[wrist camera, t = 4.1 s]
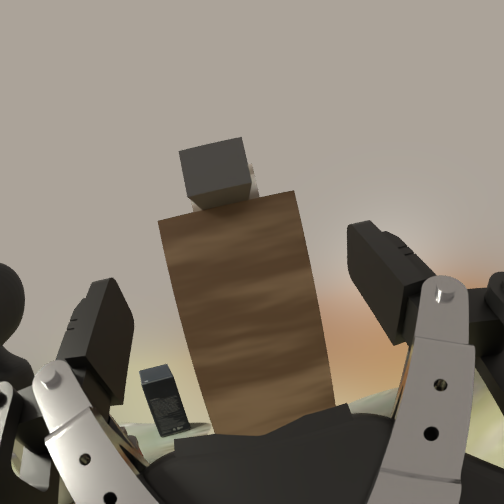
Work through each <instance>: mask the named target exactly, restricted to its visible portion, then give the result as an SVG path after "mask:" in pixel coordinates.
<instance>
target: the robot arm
mask: <svg viewBox="0 0 504 504" xmlns="http://www.w3.org/2000/svg"><path fill="white" fill-rule="evenodd" d="M347 264H348V271H349V274H350V277H351V279H352V281H353V283H354V284H355V286H356V287H357V289H358V290H359V292H360V293H361V295H362V296H363V298H364V300H365V301H366V303H367V304H368V306H369V307H370V309H371V310H372V312H373V313H374V315H375V317H376V318H377V320H378V321H379V323H380V325H381V326H382V328H383V330H384V331H385V333H386V334H387V336H388V338H389V339H390V341H391V342H392V344H393V345H394V346H395V345H398V344H400V343H403V342H406V343H407V345H408V346H409V348H408V352H407V356H406V361H405V365H404V369H403V373H402V378H401V382H400V385H399V389H398V393H397V397H396V400H395V404H394V407H393V410H392V413H391V416H390V418H389V417H385V416H381V415H376V414H367V413H355V414H351V412H350V409H349V407H348V404H347V403H345V404H342V405H339V406H335V407H332V408H329V409H325V410H322V411H318V412H315V413H311V414H307V415H304V416H302V417H300V418H298V419H296V420H294V421H292V422H290V423H288V424H286V425H284V426H282V427H280V428H278V429H276V430H274V431H272V432H270V433H267V434H265V435H261V436H247V435H225V434H211V435H204V436H197V437H189V438H181V439H174V450H175V451H173V452H171V453H168V454H166V455H164V456H162V457H160V458H159V459H157V460H155V461H154V462H153V463H151V464H149V463H148V462H147V461H146V460H145V459H144V457H143V456H142V455H141V454H140V453H139V452H138V450H137V449H136V448H135V447H134V445H133V444H132V443H131V441H130V440H129V439H128V437H127V436H126V435H125V434H124V432H123V431H122V429H121V428H120V427H119V425H118V424H117V423H116V421H115V420H114V418H113V417H112V416H111V415H110V414H109V411H110V406H114V405H123V401H124V393H125V385H126V377H127V371H128V364H129V357H130V351H131V345H132V339H133V333H134V319H133V316H132V313H131V310H130V308H129V307H128V304H127V302H126V301H125V298H124V296H123V294H122V292H121V290H120V288H119V286H118V284H117V282H116V280H115V279H113V278H108V279H104V280H99V281H95V282H92V284H91V286H90V288H89V291H88V293H87V296H86V298H84V299H82V300H81V302H80V303H79V304H78V305H77V307H76V308H75V309H74V311H73V314H72V316H71V319H70V322H69V324H68V327H67V331H66V332H65V335H64V338H63V340H62V343H61V346H60V349H59V351H58V354H57V358H56V360H55V361H51V362H49V363H47V364H46V365H44V366H43V367H42V368H41V369H40V370H39V371H38V372H37V373H36V375H35V376H34V373H33V370H32V368H31V365H30V364H29V363H28V362H27V360H25V359H23V358H20V357H18V356H16V355H14V354H12V353H10V352H8V351H7V350H6V349H5V348H4V347H3V346H2V345H3V344H4V343H5V342H6V341H7V340H8V339H9V338H10V337H11V335H12V334H13V333H14V332H15V330H16V329H17V328H18V326H19V324H20V322H21V319H22V316H23V312H24V306H25V295H24V288H23V285H22V282H21V280H20V278H19V276H18V275H17V274H16V272H15V271H14V270H13V269H11V268H10V267H8V266H7V265H5V264H2V263H0V504H70V503H72V502H74V501H75V503H76V504H504V469H503V468H501V467H498V466H496V465H493V464H491V463H489V462H486V461H484V460H481V459H479V458H477V457H474V456H472V455H470V454H467V453H465V449H466V443H467V437H468V431H469V424H470V416H471V408H472V398H473V386H474V370H475V368H476V369H477V371H478V372H479V374H480V376H481V377H482V379H483V381H484V382H485V384H486V386H487V387H488V389H489V391H490V392H491V394H492V396H493V398H494V399H495V401H496V403H497V405H498V406H499V408H500V410H501V412H502V414H503V416H504V272H497V273H494V274H493V275H492V276H491V277H490V279H489V283H488V286H487V288H475V289H466V287H465V286H464V285H463V283H461V282H460V281H459V280H457V279H455V278H452V277H449V276H437V275H436V274H435V273H434V272H433V271H432V270H431V269H430V268H429V267H428V266H427V265H426V264H425V263H424V262H423V261H422V260H421V259H420V258H419V257H418V256H417V255H416V254H414V252H413V251H412V250H411V249H410V248H409V247H407V245H406V244H405V243H404V242H403V241H402V240H401V239H400V238H399V237H397V236H395V235H393V234H391V233H389V232H387V231H384V232H381V231H380V230H379V229H378V228H377V227H376V226H375V225H374V224H373V223H372V222H371V221H370V220H368V221H364V222H359V223H354V224H350V225H348V227H347ZM11 462H12V464H13V465H14V467H15V469H16V471H17V472H18V474H19V477H17V476H16V475H15V473H14V472H13V470H12V466H11Z"/></svg>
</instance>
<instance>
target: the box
mask: <svg viewBox="0 0 504 504" xmlns="http://www.w3.org/2000/svg"><path fill="white" fill-rule="evenodd" d="M139 374H140V378H141V385H142V388H143V391H144V394H145V397H146V400H147V402H148V405H149V408H150V411H151V413H152V416H153V419H154V421H155V424H156V427H157V429H158V432H159V434H160V436H161V437H164V436H168V435H172V434H175V433H179V432H182V431H186V430H189V429H190V428H191V427H190V425H189V422H188V419H187V416H186V413H185V410H184V407H183V404H182V401H181V398H180V395H179V392H178V389H177V386H176V383H175V380H174V377H173V375H172V373H171V371H170V369H169V367H168V365H167V364H165V365H161V366H157V367H153V368H149V369H145V370H141V371H139Z"/></svg>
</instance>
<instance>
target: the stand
mask: <svg viewBox="0 0 504 504" xmlns="http://www.w3.org/2000/svg"><path fill="white" fill-rule="evenodd" d="M248 167H249V171H250V176H251V180H252V185H251V190H250V195H249V200H245V201H241V202H236V203H232V204H227V205H223V206H218V207H214V208H210V209H205V210H202V209H200V208H199V207H198V206H197V205H196V204H195V203H194V202H193V201H192V200H191V203H192V207H193V212H192V213H188V214H184V215H180V216H176V217H172V218H168V219H164V220H160V221H158V225H159V230H160V234H161V239H162V244H163V249H164V253H165V258H166V262H167V267H168V271H169V275H170V279H171V284H172V288H173V292H174V296H175V300H176V304H177V308H178V312H179V316H180V320H181V323H182V327H183V331H184V334H185V338H186V342H187V345H188V349H189V352H190V356H191V359H192V362H193V366H194V369H195V373H196V376H197V380H198V383H199V386H200V389H201V392H202V396H203V399H204V402H205V405H206V408H207V411H208V414H209V417H210V420H211V423H212V426H213V429H214V432H215V434H225V435H247V436H261V435H265V434H267V433H270V432H272V431H274V430H276V429H278V428H280V427H282V426H284V425H286V424H288V423H290V422H292V421H294V420H296V419H298V418H300V417H302V416H304V415H307V414H311V413H315V412H318V411H322V410H325V409H329V408H332V407H335V406H336V405H335V399H334V392H333V385H332V379H331V373H330V367H329V361H328V355H327V349H326V344H325V338H324V332H323V326H322V321H321V316H320V311H319V305H318V300H317V295H316V290H315V285H314V279H313V275H312V270H311V265H310V260H309V255H308V251H307V246H306V241H305V237H304V232H303V228H302V223H301V219H300V214H299V210H298V205H297V201H296V197H295V193H294V191H288V192H283V193H278V194H274V195H269V196H265V197H259V193H258V188H257V184H256V180H255V175H254V171H253V167H252V164H248Z"/></svg>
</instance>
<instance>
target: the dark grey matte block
mask: <svg viewBox="0 0 504 504" xmlns="http://www.w3.org/2000/svg"><path fill="white" fill-rule="evenodd" d="M179 155H180V160H181V166H182V171H183V176H184V182H185V187H186V192H187V197H188V198H189V199H191V200H192V201H193V202H194V203H195V204H196V205H197V206H198V207H199V208H200V209H202V210H205V209H210V208H214V207H218V206H223V205H227V204H232V203H236V202H241V201H245V200H249V195H250V190H251V185H252V180H251V176H250V171H249V167H248V163H247V158H246V154H245V150H244V146H243V141H242V137H240V138H234V139H230V140H225V141H220V142H216V143H211V144H207V145H202V146H198V147H194V148H190V149H186V150H182V151H179Z"/></svg>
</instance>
